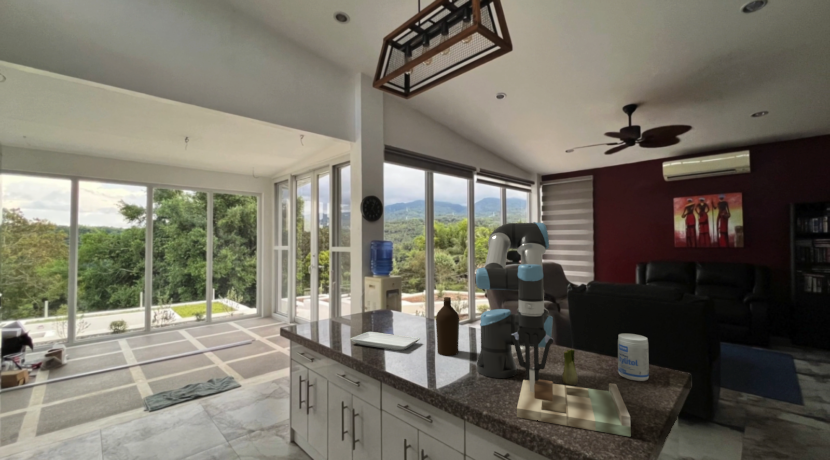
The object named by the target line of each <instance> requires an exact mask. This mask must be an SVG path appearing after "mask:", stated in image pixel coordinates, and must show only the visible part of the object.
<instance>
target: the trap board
mask: <svg viewBox="0 0 830 460" xmlns="http://www.w3.org/2000/svg"><path fill="white" fill-rule="evenodd" d="M516 417H517V418H521V419H526V420H531V421H537V420H538V421H539V422H543V423H549V424H554V425H555V424H556V425H561V426H566V427H572V428H579V429H584V430H589V431H596V432H600V433H607V434H613V435H619V436H624V437H631V436H632V432H631V427H632V426H631V415H630V413H629V411H628V408H627V406H626V403H625V401H624V400H623V397H622V394H621V392H620V390H619V388H618V385H617V383H609V382H608V390H602V389H595V388H588V387H587V388H586V387H581V386H575V385H574V386H568V385H566V384H557V383H553V399H552V401H548V400H542V399H536V398H535V392H530V380H527V379H523V380H522V385H521V388H520V393H519V398H518V401H517V406H516Z"/></svg>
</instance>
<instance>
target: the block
mask: <svg viewBox="0 0 830 460" xmlns="http://www.w3.org/2000/svg"><path fill="white" fill-rule="evenodd" d="M553 384H554V382H553V381H552V380H546V379H540V378H539V380H538V381H535V384H534V392H535V398H536V399H542V400H548V401H552V399H553Z"/></svg>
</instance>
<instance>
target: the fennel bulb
mask: <svg viewBox="0 0 830 460" xmlns="http://www.w3.org/2000/svg"><path fill="white" fill-rule="evenodd" d="M563 358H564V359H563V360H564V361H563V362H564V364H563V365H564V366H563V372H562V373H561V382H562V383H563V385H566V386H574V387H575V386H576V385H577V384H578V382H579V381H578V380H579V377H578V373H577V369H576V365H575V364H576V363H575V349H567V350H565V351H564V352H563Z"/></svg>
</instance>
